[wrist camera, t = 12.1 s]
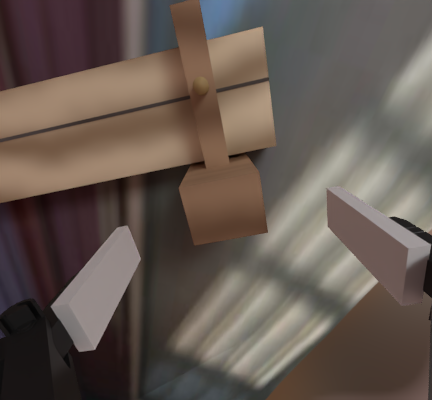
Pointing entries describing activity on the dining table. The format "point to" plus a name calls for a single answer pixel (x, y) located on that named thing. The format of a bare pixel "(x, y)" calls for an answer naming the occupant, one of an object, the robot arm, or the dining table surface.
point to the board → (129, 118)
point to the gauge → (213, 149)
